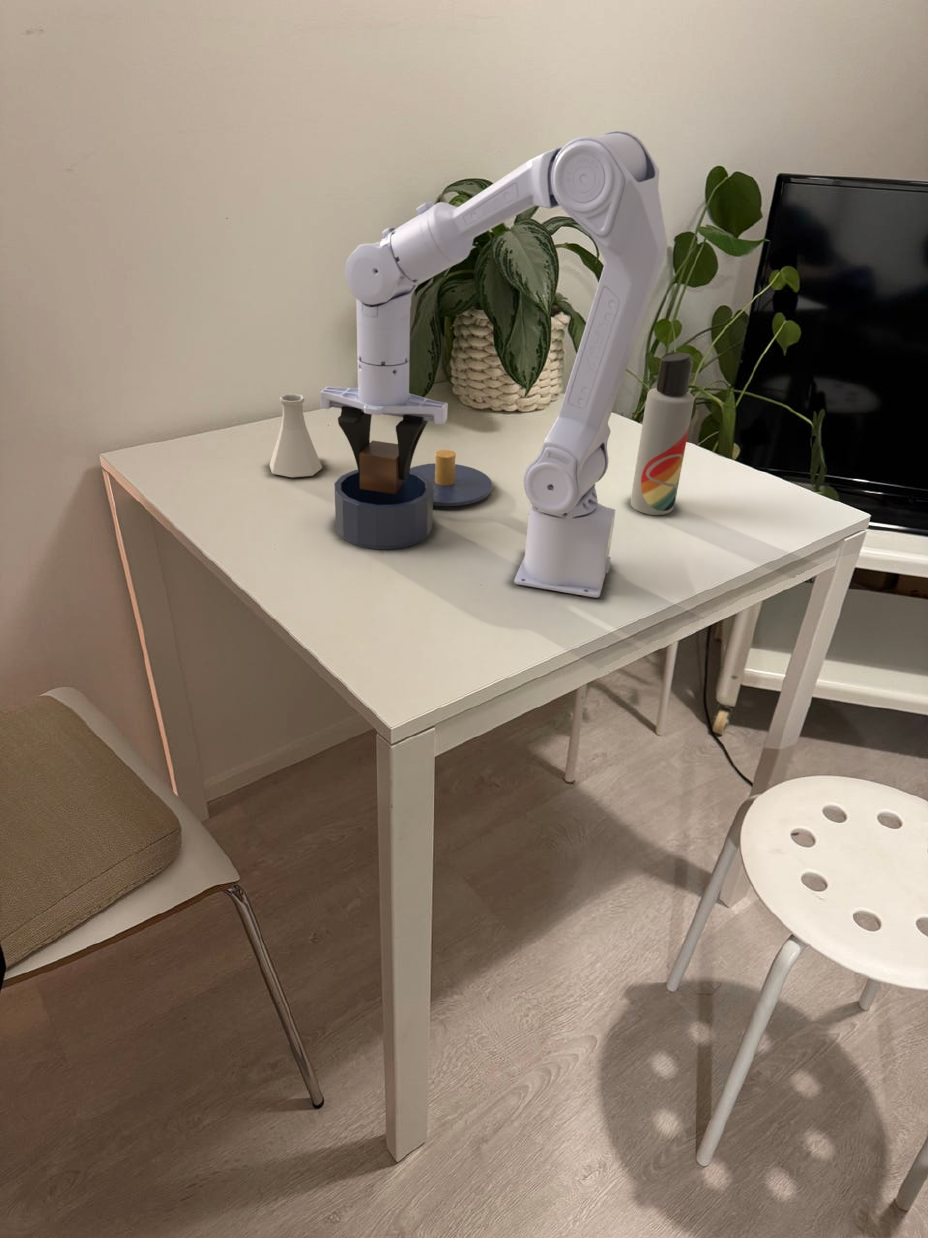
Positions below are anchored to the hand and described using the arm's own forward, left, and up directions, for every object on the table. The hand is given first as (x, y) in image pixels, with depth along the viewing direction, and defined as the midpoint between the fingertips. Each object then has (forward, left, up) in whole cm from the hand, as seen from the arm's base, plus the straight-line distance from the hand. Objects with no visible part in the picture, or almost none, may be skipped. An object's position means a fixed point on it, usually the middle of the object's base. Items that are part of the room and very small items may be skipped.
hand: (383, 473), depth 107 cm
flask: (+17, -12, -7) cm, 22 cm away
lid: (-4, -13, -6) cm, 15 cm away
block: (0, 0, -1) cm, 1 cm away
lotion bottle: (-31, -17, -7) cm, 36 cm away
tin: (0, 0, -7) cm, 7 cm away
